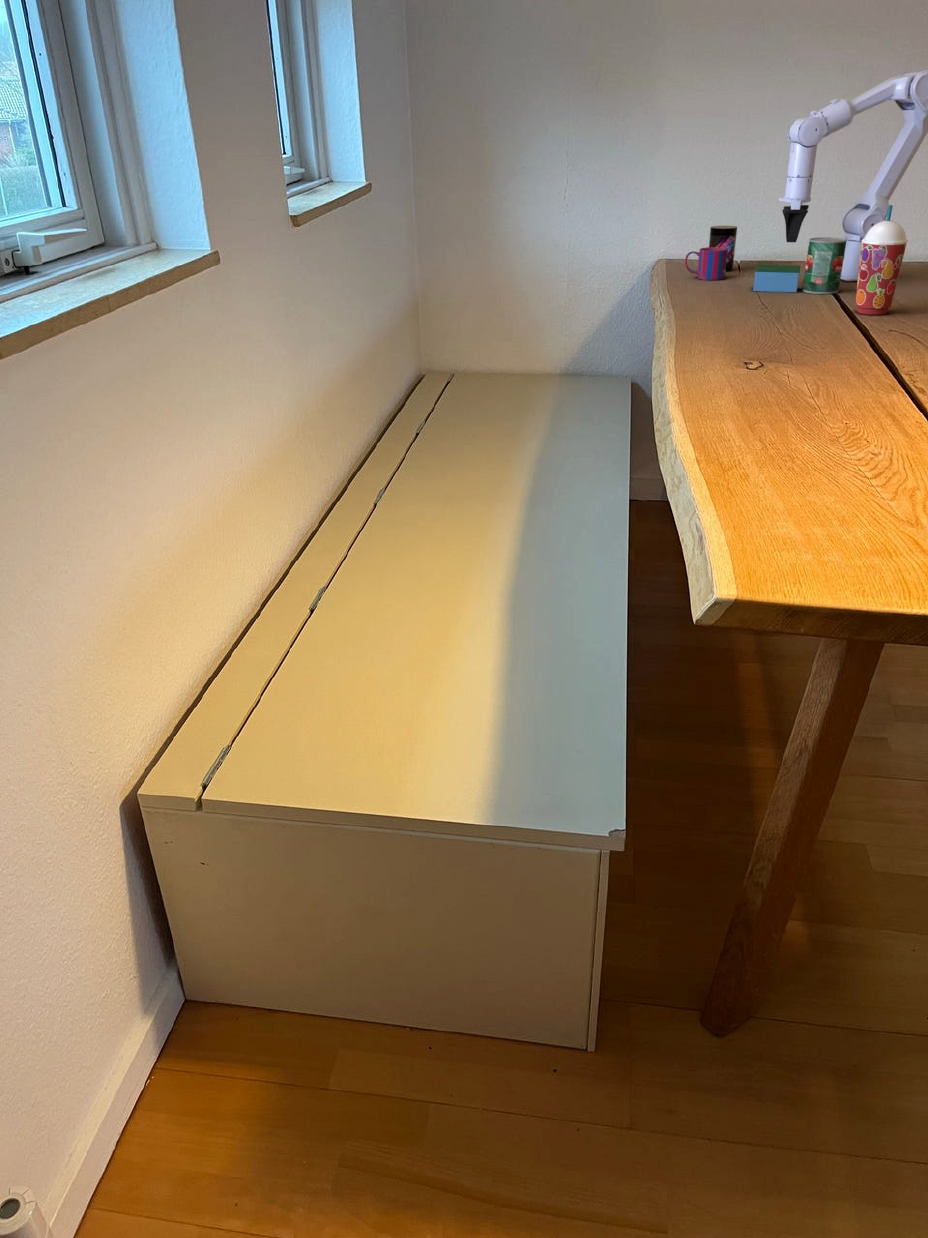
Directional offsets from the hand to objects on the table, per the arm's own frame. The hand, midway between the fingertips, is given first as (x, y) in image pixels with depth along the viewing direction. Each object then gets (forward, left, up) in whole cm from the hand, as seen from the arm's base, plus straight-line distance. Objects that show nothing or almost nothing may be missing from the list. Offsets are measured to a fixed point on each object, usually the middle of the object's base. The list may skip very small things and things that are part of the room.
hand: (791, 239), depth 219 cm
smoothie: (+2, +40, -10) cm, 42 cm away
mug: (+16, -12, -10) cm, 22 cm away
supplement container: (+7, -23, -10) cm, 25 cm away
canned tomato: (-1, +14, -10) cm, 17 cm away
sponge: (+8, +10, -9) cm, 15 cm away
